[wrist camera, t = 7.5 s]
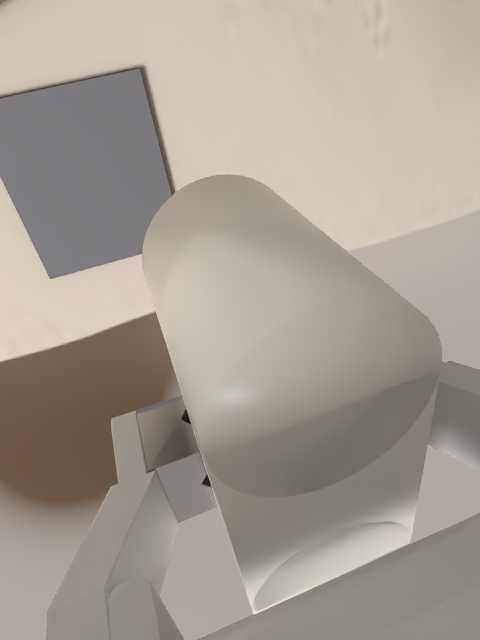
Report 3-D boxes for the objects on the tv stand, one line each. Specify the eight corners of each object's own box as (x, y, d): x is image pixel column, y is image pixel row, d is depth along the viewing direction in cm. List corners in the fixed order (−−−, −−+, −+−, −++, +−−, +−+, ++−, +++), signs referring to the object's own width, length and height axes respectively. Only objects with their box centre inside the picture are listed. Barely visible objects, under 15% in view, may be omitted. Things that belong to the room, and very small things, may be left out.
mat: (139, 67, 32) (139, 68, 32) (182, 240, 41) (183, 242, 40) (-34, 104, 30) (-34, 105, 30) (50, 276, 39) (50, 279, 39)
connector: (288, 156, 9) (460, 261, 5) (311, 463, 15) (397, 615, 12) (120, 199, 9) (173, 354, 5) (216, 501, 15) (272, 675, 11)
